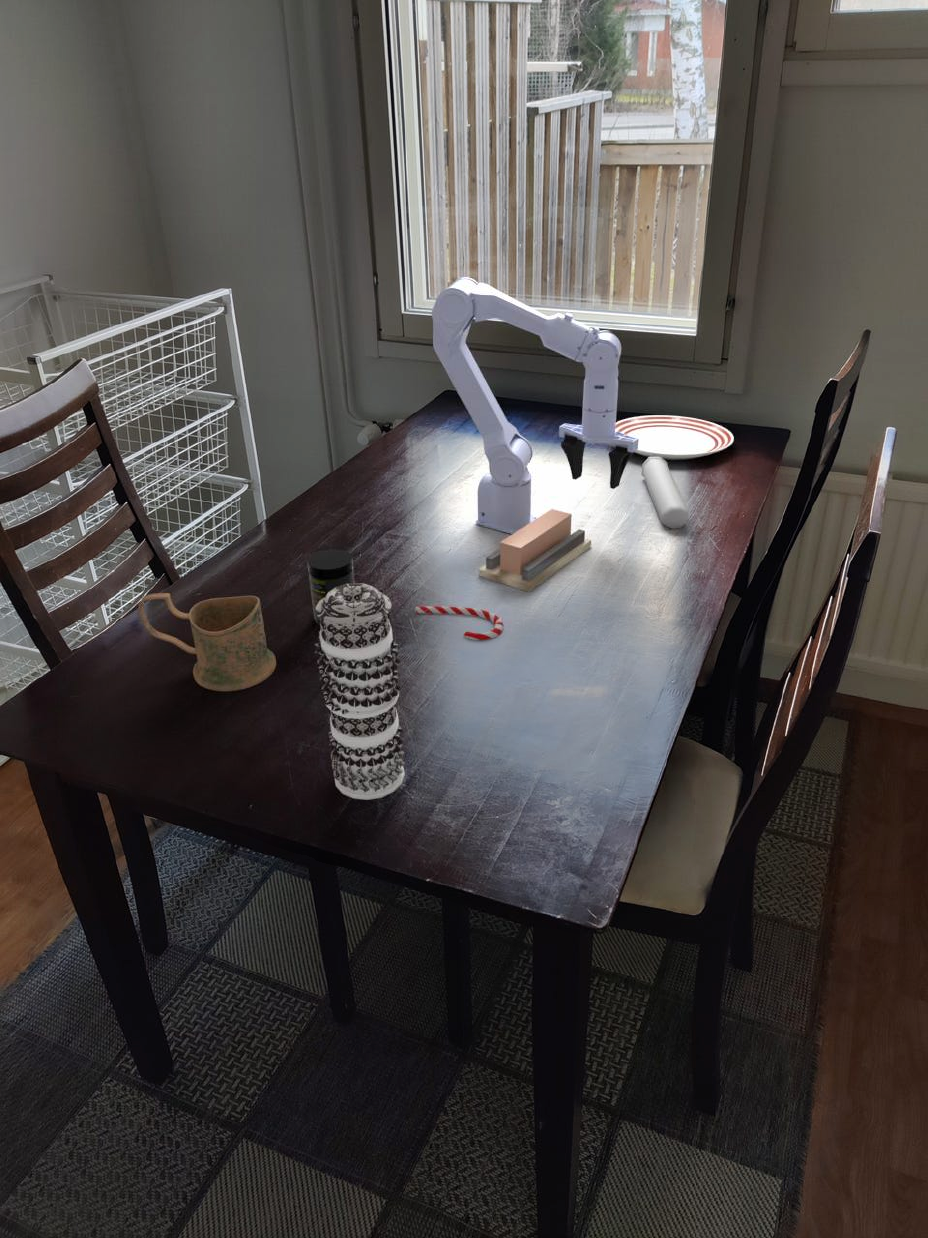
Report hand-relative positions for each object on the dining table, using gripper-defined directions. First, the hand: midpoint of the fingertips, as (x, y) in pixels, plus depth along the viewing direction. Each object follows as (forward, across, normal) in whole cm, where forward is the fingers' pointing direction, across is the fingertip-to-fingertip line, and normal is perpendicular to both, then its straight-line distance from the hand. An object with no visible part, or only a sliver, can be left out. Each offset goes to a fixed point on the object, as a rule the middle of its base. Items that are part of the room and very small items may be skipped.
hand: (595, 482), depth 163 cm
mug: (+10, -22, -70) cm, 74 cm away
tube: (+10, +5, +18) cm, 21 cm away
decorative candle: (+10, +12, -75) cm, 77 cm away
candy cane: (+10, -1, -40) cm, 41 cm away
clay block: (+8, -2, -16) cm, 18 cm away
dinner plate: (+10, -8, +48) cm, 50 cm away
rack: (+9, -2, -16) cm, 19 cm away
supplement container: (+10, -17, -50) cm, 54 cm away
